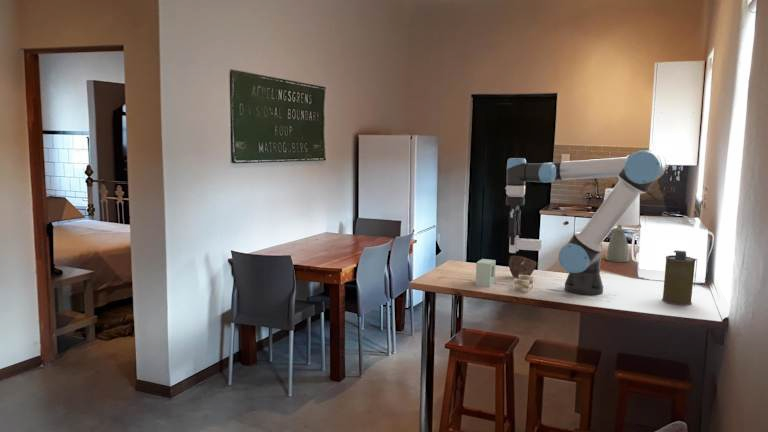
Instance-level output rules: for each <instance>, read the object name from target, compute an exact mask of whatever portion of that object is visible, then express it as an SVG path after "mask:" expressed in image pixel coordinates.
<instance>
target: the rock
mask: <svg viewBox="0 0 768 432" xmlns="http://www.w3.org/2000/svg"><path fill="white" fill-rule="evenodd" d="M537 264H538V262H536V261H535V260H533V259H531V258H527V257H525V256H520V255H510V256H509V259H508V264H507V265H508V267H509V272H510V273H511V275H512V277H513V278H515V279H518V276H519V274H520V275H529V276H532V274H533V272H534V271H535V269H536V267H537Z"/></svg>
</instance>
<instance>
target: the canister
mask: <svg viewBox="0 0 768 432" xmlns="http://www.w3.org/2000/svg"><path fill="white" fill-rule="evenodd" d="M673 253H675V254H674V255H671V254H670V255H666V256H665V269H664V280H663V289H662V290H663V292H662V298H661V300H662V301H663V302H665V303H667V304H671V305H677V306H690V305H691V304H692V303H693V302H692V295H693V288H695V286H696V281H694V280H696V276H697V271H695V269H697V266H698V259H697V258H694V257H690V256H687V252H686V250H674V251H673ZM694 274H695V275H694Z"/></svg>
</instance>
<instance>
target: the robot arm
mask: <svg viewBox="0 0 768 432" xmlns="http://www.w3.org/2000/svg"><path fill="white" fill-rule="evenodd" d="M666 170H667V160H666V158H665V157H664V155H663V154H661V153H660V152H658V151H656V150H652V149H650V150H649V149H648V150H647V149H641V150H638V151H635V152H633V153H632V154H628V155H627V156H624V157H611V158H597V159H585V160H570V161H568V160H567V161H555V162H554V161H553V162H543V163H542V162H541V163H536V162H535V163H532V162H531V163H530V162H527V160H526V158H525V157H522V158H521V157H509V158H508V159H507V163H506V186H505V187H504V189H505V193H506V196H505V205H506V206H510V209H509V210H508V234H507V238H508V239H509V242H508V243H509V244H508V245H509V247H508V252H509V253H510V254H516V253H517V252H519V249H516V238H520V236H522V235H521V214H522V213H521V212H522V210H521V209H520V207H521V206H522V207H523V206H524V205H525V201H526V199H525V195H526V182H528V183H529V182H533V183H543V184H546V183H554V182H555V181H566V180H585V179H587V180H588V179H605V178H606V179H607V178H610V179H611V178H618V182H617V183H616V184H615V186H614V187H612V188H613V190H612V191H611V192H610V194H609V195H608V196H607V198H606V199H605V201H604V200H603V202H602V203H601V205H600V206H599V207H598V209H597V210H596V211H595V213H594V214H593V216H592V217H591V218H590V219H589V221H588V222H587V223H586V225H585V226H584V228H583V229H582V230H581V231H576V232H575V233H574V234H572V237H570V239H569V241H568V242H567V243H566V244H565V245H563V246H562V247H561V248H560V250H559V252H558V261H559V262H558V263H559V264H560V267H561V268H563V270H565V271H567V272H568V274H567V277H566V280H565V282H564V290H565V291H567V292H570V293H573V294H578V295H586V296H591V295H592V296H593V295H595V296H597V295H601V294H603V292H604V285H603V281H602V277H601V275H600V274H601V273H600V272H601V260H602V249H603V242H604V241H605V239H606V238H607V237H608V235H610V233H611V232H612V231H613V228H615V226H617V225H616V224H617V223H618V221H619V220H620V219H621V217H622V216H623V215H624V213H625V212H626V211H627V210H628V208H629V207H630V206H631V204H632V203H633V202H634V200H635V199H636V198H637V197H638V195H639V194H640V195H642V194H646V193H647V192H648V191H649V190H650V188H651V187H652V186H653V184H654V183H655V182H656V181H657V180H659V179H660V178H661V177H662V176H663V175H665V172H666Z"/></svg>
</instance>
